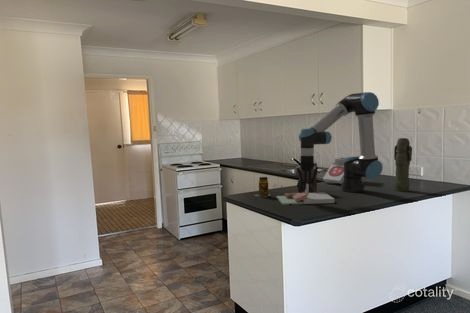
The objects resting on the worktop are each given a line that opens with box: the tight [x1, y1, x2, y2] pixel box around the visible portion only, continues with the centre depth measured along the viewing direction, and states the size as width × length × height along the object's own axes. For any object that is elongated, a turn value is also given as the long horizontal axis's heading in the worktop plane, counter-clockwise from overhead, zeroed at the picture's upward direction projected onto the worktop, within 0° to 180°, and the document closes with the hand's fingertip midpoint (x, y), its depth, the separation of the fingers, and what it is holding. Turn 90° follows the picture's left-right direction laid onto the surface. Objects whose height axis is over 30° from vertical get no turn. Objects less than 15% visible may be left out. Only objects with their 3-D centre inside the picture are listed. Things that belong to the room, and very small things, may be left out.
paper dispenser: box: [322, 156, 347, 185], centre depth 268 cm, size 19×30×18 cm, turn 131°
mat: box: [276, 195, 305, 206], centre depth 210 cm, size 12×19×1 cm, turn 4°
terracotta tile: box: [292, 193, 307, 202], centre depth 205 cm, size 7×7×2 cm
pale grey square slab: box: [296, 191, 336, 205], centre depth 211 cm, size 18×18×2 cm
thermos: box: [393, 137, 413, 192], centre depth 234 cm, size 9×12×35 cm
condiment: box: [254, 176, 271, 198], centre depth 225 cm, size 7×8×12 cm
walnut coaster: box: [284, 192, 298, 199], centre depth 214 cm, size 7×7×2 cm
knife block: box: [296, 162, 318, 193], centre depth 231 cm, size 13×13×20 cm
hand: (306, 195), depth 205 cm, fingers closed
